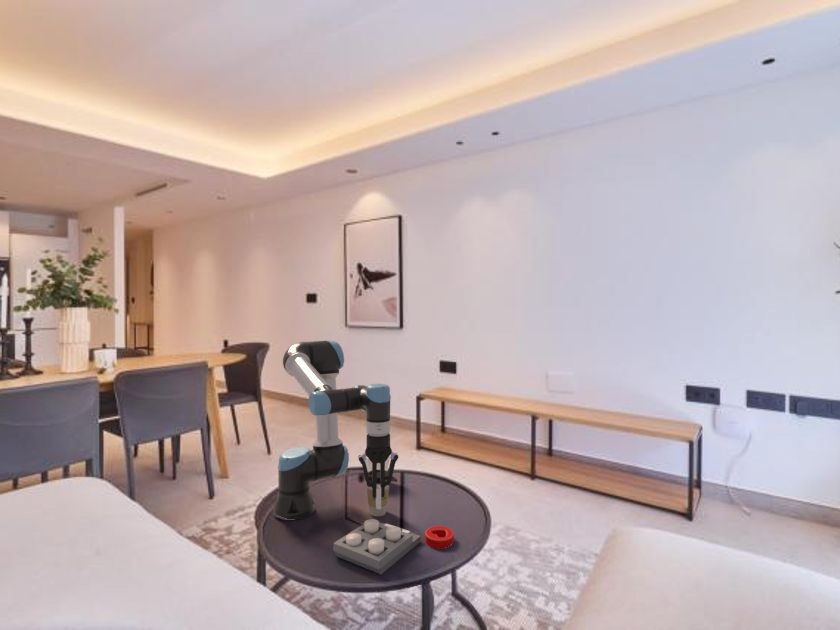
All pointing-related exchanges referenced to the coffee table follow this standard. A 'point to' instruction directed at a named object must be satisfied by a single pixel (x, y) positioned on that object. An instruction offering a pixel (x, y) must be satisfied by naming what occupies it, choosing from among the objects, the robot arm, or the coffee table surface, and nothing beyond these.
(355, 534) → the inner button
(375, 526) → the inner button
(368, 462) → the cup
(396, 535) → the outer button
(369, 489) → the coffee cup
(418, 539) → the board
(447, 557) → the coffee table surface
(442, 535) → the decorative ornament
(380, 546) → the outer button
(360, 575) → the coffee table surface
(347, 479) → the coffee table surface
